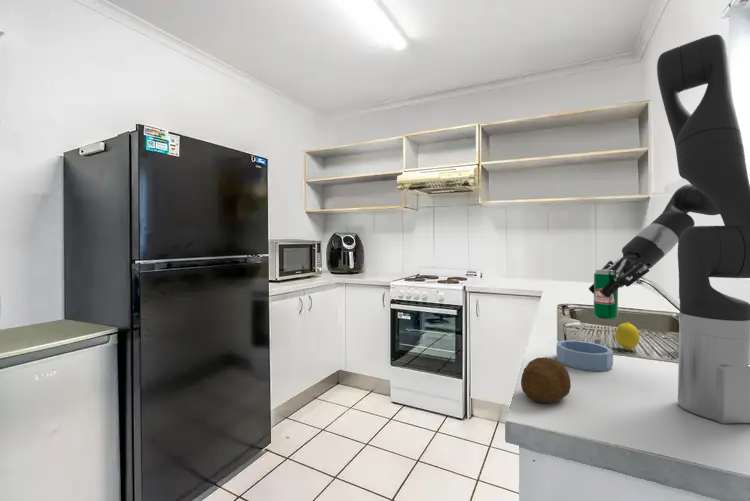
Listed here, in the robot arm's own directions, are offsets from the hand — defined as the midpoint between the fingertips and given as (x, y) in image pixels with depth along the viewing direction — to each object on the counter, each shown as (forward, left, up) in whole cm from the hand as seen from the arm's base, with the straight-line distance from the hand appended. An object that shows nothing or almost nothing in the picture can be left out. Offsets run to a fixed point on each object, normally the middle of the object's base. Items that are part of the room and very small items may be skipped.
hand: (597, 293), depth 88 cm
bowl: (0, +3, -18) cm, 18 cm away
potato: (-19, +24, -18) cm, 35 cm away
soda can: (0, -2, -6) cm, 7 cm away
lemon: (+10, -17, -18) cm, 27 cm away
